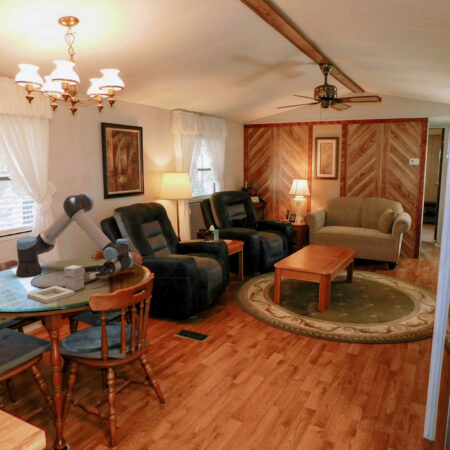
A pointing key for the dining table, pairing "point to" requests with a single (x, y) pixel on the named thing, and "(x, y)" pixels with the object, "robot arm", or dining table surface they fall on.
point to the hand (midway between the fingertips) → (82, 274)
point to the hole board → (39, 294)
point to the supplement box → (74, 277)
